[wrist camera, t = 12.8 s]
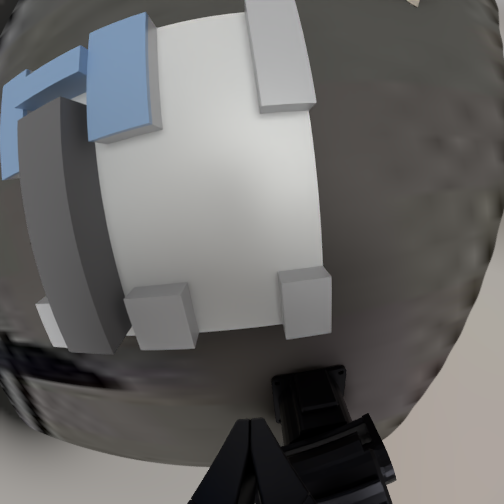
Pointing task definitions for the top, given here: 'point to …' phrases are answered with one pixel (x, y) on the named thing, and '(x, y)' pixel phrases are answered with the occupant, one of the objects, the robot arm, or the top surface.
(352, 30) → the top surface
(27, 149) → the long grey beam
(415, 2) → the condiment
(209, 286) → the white plate with bars
